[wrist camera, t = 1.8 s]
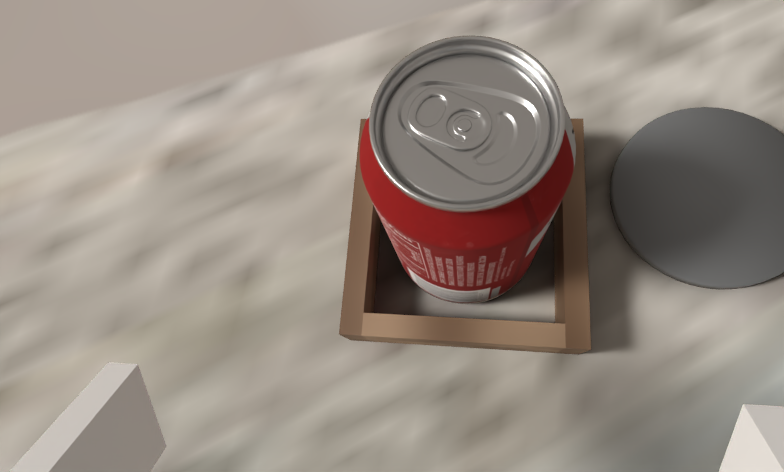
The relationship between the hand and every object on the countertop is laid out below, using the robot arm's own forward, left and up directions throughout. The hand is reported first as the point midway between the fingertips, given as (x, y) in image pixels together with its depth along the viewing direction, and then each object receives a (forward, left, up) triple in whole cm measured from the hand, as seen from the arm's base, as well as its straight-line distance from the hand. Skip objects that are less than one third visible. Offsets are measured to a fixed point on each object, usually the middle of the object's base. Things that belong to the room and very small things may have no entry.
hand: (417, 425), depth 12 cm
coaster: (-12, -11, -13) cm, 21 cm away
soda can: (-1, -8, -13) cm, 15 cm away
